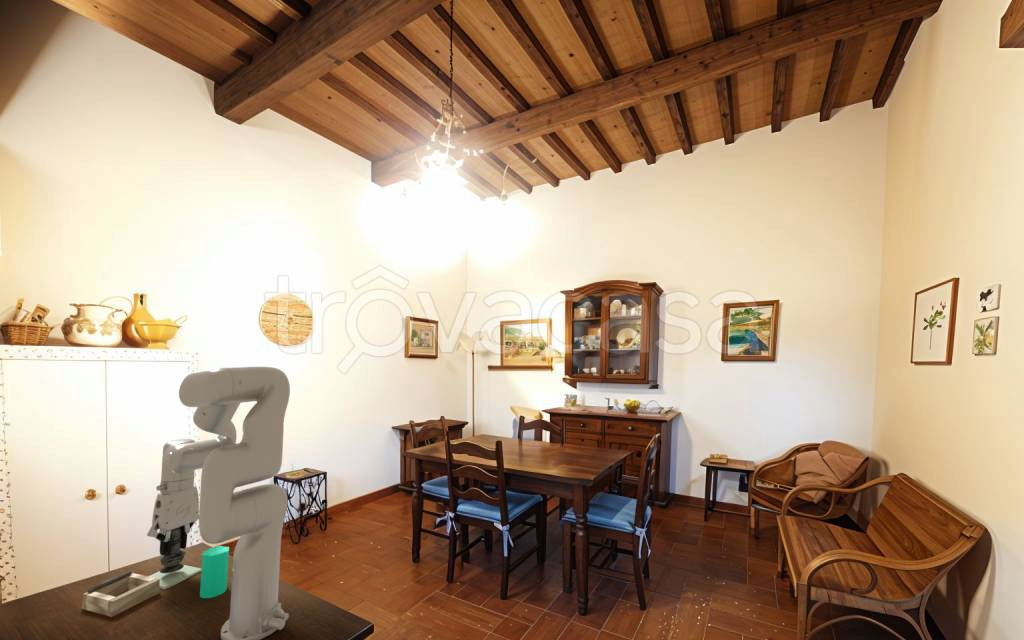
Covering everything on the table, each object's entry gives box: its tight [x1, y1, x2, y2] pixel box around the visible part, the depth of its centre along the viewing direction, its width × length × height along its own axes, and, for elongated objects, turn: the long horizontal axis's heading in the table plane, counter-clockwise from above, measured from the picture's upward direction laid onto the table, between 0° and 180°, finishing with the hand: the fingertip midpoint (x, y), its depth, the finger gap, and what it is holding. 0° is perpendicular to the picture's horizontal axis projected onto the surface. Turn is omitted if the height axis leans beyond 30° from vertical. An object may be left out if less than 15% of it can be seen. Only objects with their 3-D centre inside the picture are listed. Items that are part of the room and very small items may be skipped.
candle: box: [199, 544, 230, 599], centre depth 113 cm, size 6×6×12 cm
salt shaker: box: [158, 527, 187, 573], centre depth 120 cm, size 6×6×12 cm
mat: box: [147, 564, 202, 590], centre depth 120 cm, size 10×10×1 cm
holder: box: [81, 570, 160, 618], centre depth 108 cm, size 10×10×4 cm
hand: (173, 550), depth 120 cm, fingers closed on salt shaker, 3 cm apart
